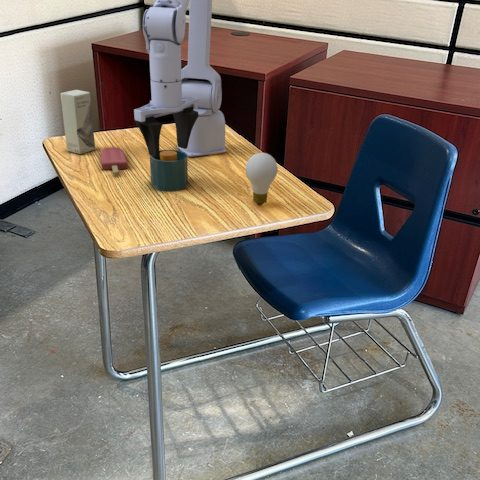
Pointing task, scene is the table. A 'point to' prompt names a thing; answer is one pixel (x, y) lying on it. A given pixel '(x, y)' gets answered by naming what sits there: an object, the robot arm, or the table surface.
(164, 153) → the glue stick
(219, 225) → the table surface
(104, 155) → the popsicle
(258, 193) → the light bulb
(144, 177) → the table surface
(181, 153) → the tumbler
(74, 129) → the box
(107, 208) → the table surface
